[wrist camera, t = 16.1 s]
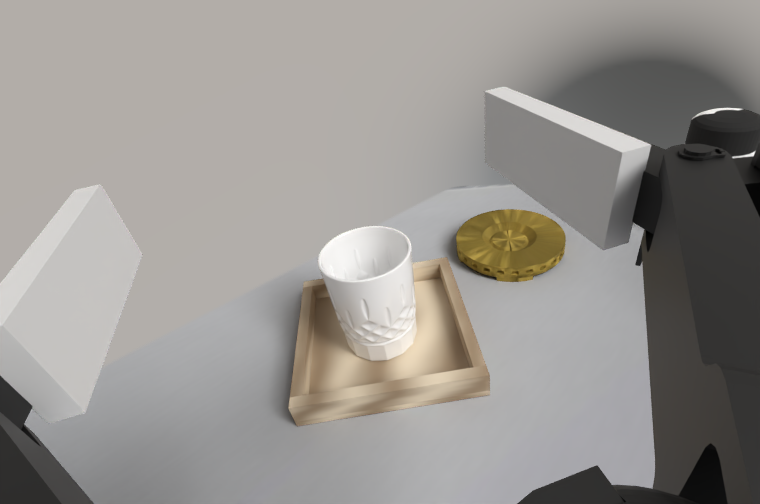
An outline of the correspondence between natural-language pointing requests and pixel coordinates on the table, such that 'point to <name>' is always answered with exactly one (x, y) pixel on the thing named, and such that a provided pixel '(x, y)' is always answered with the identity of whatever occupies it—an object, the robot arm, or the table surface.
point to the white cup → (372, 290)
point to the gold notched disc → (510, 244)
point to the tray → (389, 377)
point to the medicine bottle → (726, 130)
